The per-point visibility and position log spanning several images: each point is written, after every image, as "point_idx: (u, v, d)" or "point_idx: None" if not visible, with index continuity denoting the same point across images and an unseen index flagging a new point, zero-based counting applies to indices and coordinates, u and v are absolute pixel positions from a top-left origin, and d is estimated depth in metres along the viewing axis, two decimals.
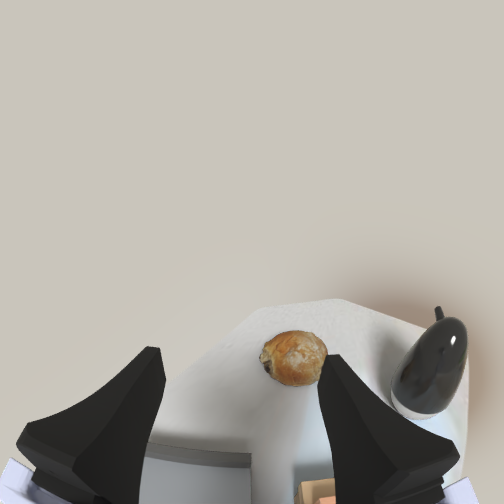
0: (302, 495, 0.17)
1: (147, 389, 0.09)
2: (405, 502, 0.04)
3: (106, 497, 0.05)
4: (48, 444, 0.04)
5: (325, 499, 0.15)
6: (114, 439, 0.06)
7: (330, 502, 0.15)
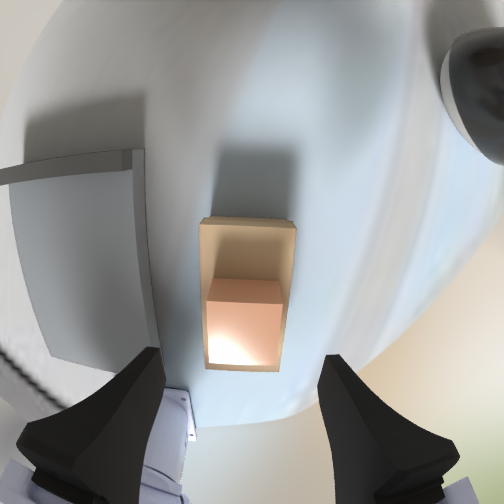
0: (200, 251, 0.15)
1: (147, 389, 0.09)
2: (405, 502, 0.04)
3: (106, 497, 0.05)
4: (49, 444, 0.04)
5: (216, 305, 0.13)
6: (114, 439, 0.06)
7: (224, 312, 0.13)
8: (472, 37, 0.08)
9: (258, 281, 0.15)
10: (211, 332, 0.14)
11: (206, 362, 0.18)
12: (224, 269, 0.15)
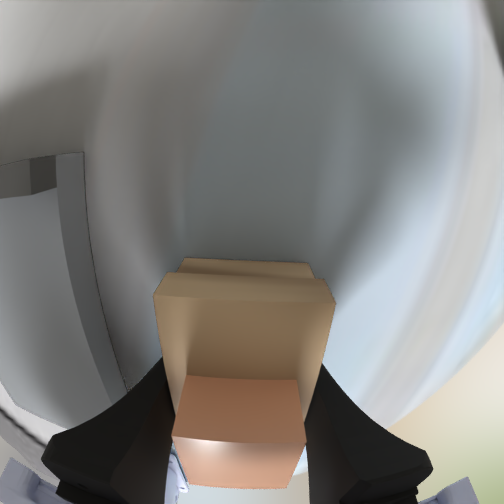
0: None
1: None
2: None
3: None
4: (81, 457, 0.04)
5: (190, 441, 0.06)
6: (144, 447, 0.06)
7: (204, 449, 0.06)
8: None
9: (263, 383, 0.08)
10: (187, 463, 0.07)
11: None
12: (204, 365, 0.08)
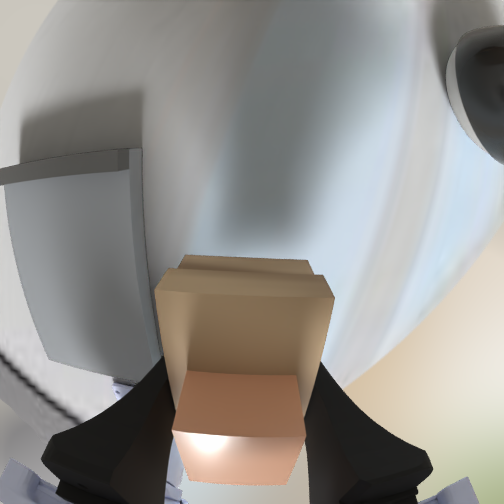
0: None
1: None
2: None
3: None
4: (80, 458, 0.04)
5: (190, 436, 0.06)
6: (144, 447, 0.06)
7: (204, 444, 0.06)
8: (479, 35, 0.08)
9: (262, 379, 0.08)
10: (187, 459, 0.07)
11: None
12: (205, 360, 0.08)
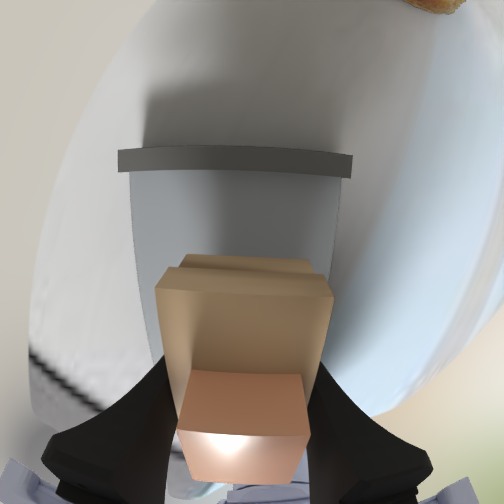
0: None
1: None
2: None
3: None
4: (80, 458, 0.04)
5: (194, 435, 0.06)
6: (144, 447, 0.06)
7: (209, 443, 0.06)
8: None
9: (267, 378, 0.08)
10: (191, 458, 0.07)
11: None
12: (204, 358, 0.08)
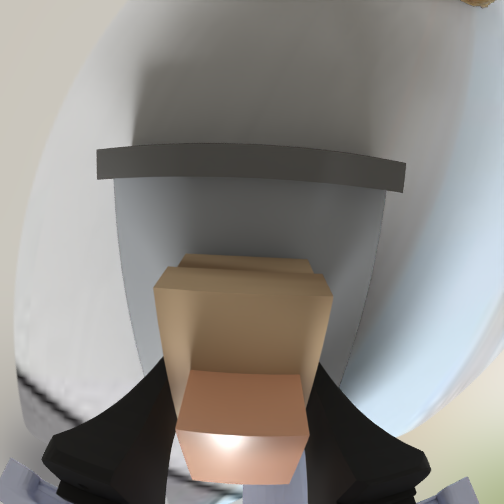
0: None
1: None
2: None
3: None
4: (81, 458, 0.04)
5: (193, 435, 0.06)
6: (145, 447, 0.06)
7: (208, 443, 0.06)
8: None
9: (266, 378, 0.08)
10: (190, 458, 0.07)
11: None
12: (203, 358, 0.08)
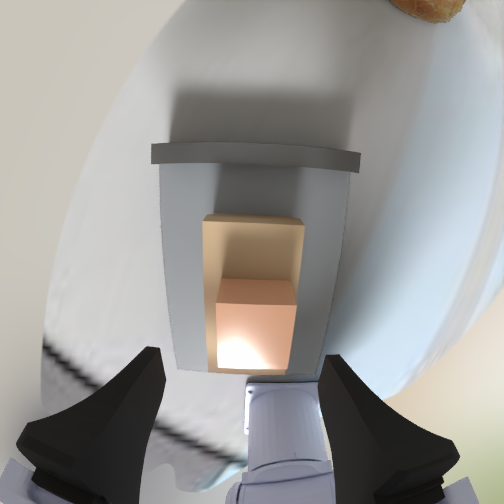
0: None
1: (147, 389, 0.09)
2: (405, 502, 0.04)
3: (106, 497, 0.05)
4: (49, 444, 0.04)
5: (226, 307, 0.12)
6: (114, 439, 0.06)
7: (234, 315, 0.12)
8: None
9: (269, 281, 0.14)
10: (221, 336, 0.13)
11: (209, 365, 0.17)
12: (229, 268, 0.14)
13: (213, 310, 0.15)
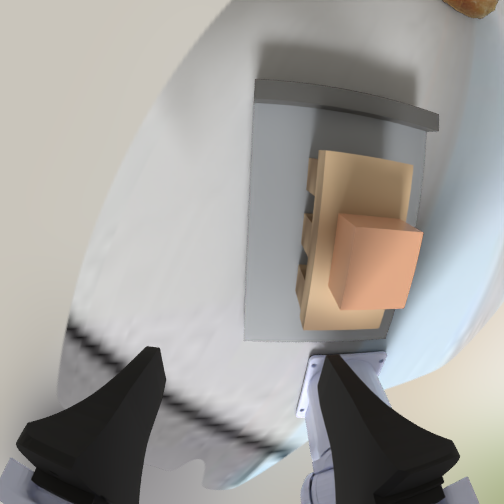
0: (322, 181, 0.13)
1: (147, 389, 0.09)
2: (405, 502, 0.04)
3: (106, 497, 0.05)
4: (49, 445, 0.04)
5: (365, 232, 0.11)
6: (113, 439, 0.06)
7: (371, 241, 0.11)
8: None
9: (383, 217, 0.13)
10: (352, 268, 0.12)
11: (306, 321, 0.16)
12: (347, 202, 0.13)
13: (324, 251, 0.14)
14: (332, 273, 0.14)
